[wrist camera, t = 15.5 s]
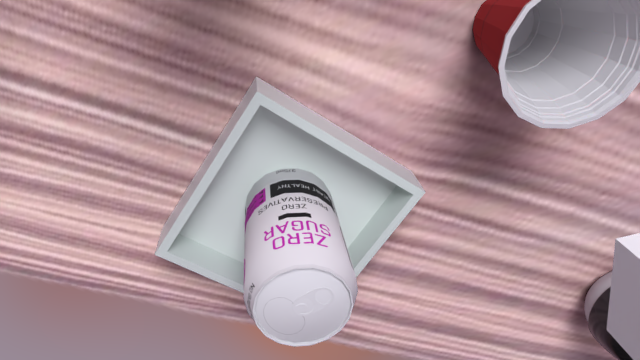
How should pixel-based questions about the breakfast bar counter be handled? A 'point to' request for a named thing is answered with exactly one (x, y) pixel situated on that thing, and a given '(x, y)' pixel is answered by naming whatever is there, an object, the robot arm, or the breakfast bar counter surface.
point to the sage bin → (273, 154)
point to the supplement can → (296, 260)
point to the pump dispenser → (602, 316)
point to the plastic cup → (561, 56)
